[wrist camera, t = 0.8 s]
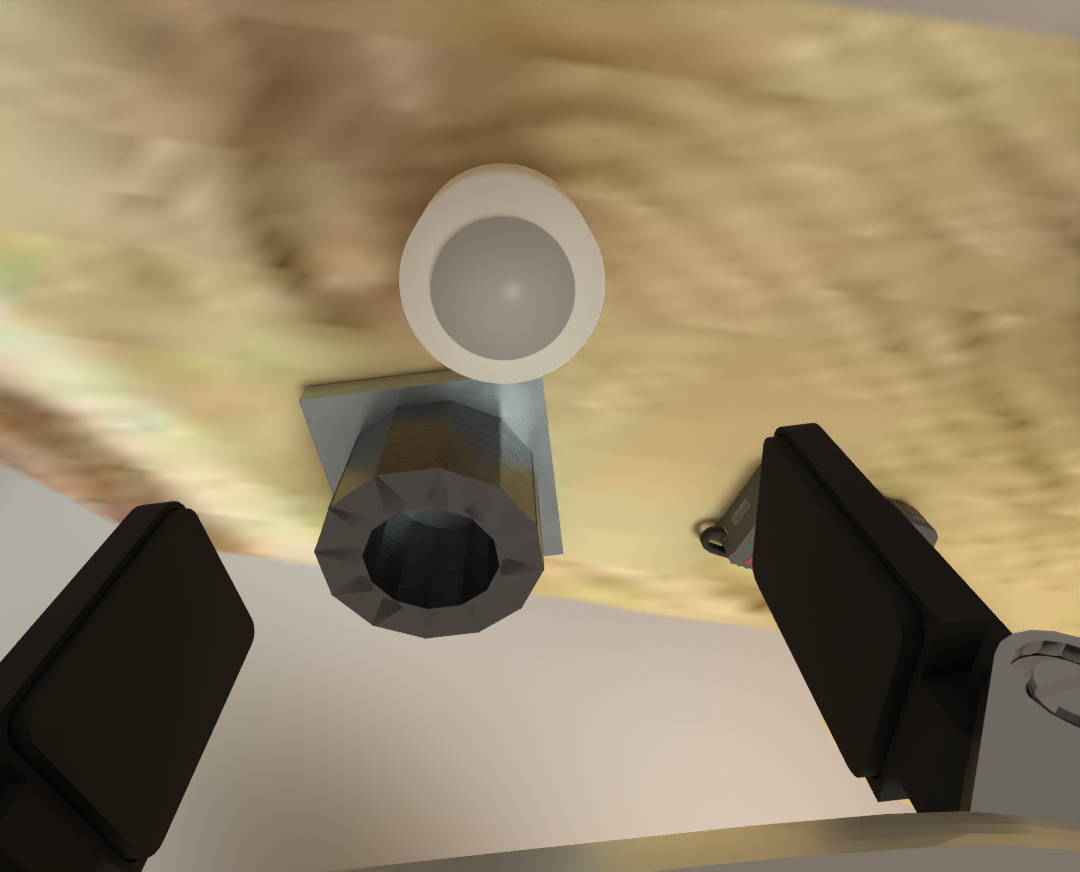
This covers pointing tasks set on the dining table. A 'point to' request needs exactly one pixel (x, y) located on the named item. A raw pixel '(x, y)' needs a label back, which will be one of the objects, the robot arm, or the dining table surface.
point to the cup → (502, 275)
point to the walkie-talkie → (741, 524)
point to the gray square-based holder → (434, 498)
